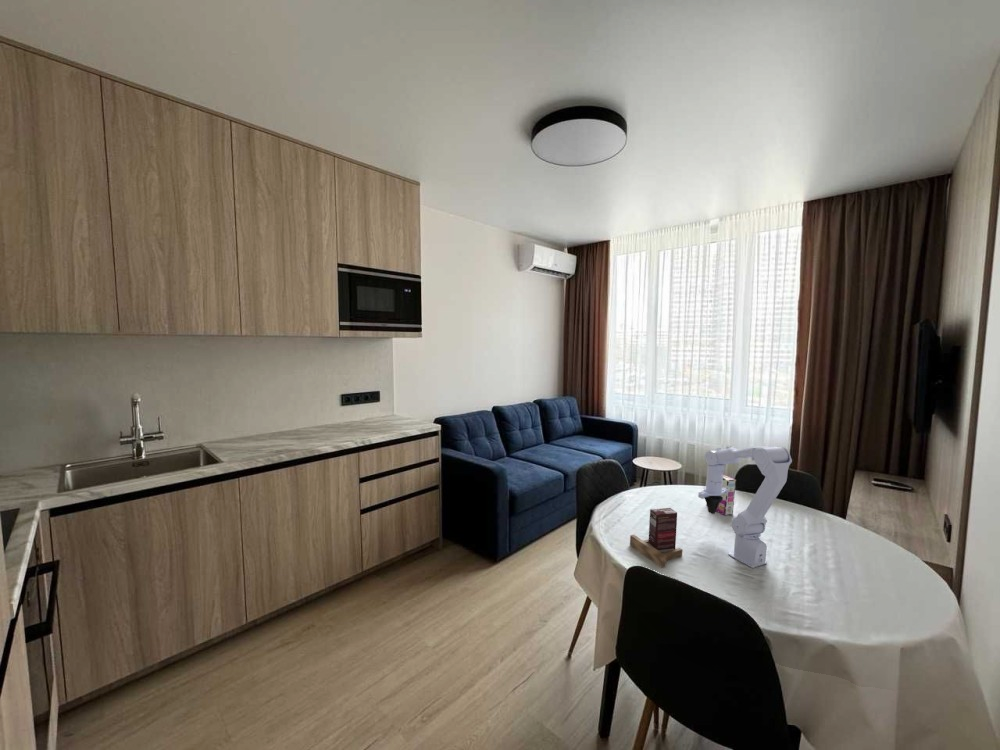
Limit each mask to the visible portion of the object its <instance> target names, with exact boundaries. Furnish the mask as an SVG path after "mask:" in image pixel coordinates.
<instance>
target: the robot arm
mask: <svg viewBox="0 0 1000 750" xmlns="http://www.w3.org/2000/svg"><path fill="white" fill-rule="evenodd" d="M747 458H749V459H751V461H754V462H755V464H756V466H757V468H758V469H759V471H760V473H761V475H763V476H764V479H763V481H762V482H761V485H760V486H759V487H758V489H757V490H756V492H755V494H754V495H753V497H752V500H750V502H749V504H748V506H747V507H746V509H745V510H743V511H741V512H739V513H738V514H737V516H735V517H733V518H731V521H730V526H731V529H732V531H733V533H734V534H735V538H734V547H733V551H732V552H731V551H730V552H728V553H727V555H728V556H730V557H731V558H733V559H735V560H737V561H739V562H740V563H742V564H744V565H745V566H748V567H749V568H752V569H753V568H756V567H759V566H763V565H765V564H767V561H766V560H767V559H766V557H767V547H768V546H767V543H765V542H764V541H763V540H761V538H760V537H761V536H762V534H763V533H764V532H765V531H766V525H767V523H768V520H767V518H766V517H765V516H766V514H767V513H768V511H769V509H770V508H771V506H772V505H773V504H774V502H775V500H776V499H777V497H778V496H779V494H780V492H781V490H782V489H783V487H784V486H785V484H786V483H787V479H788V471H789V467H790V466H791V464H792V462H793V459H792V457H791V453H790V451H789V450H788V449H787V448H786V447H785V446H781V445H779V446H778V445H776V446H771V445H770V446H769V445H768V446H766V445H765V446H762V445H761V446H759V445H758V446H751V447H745V448H741V449H737V448H735V447H732V446H729V445H728V446H726V447H725V448H717V449H716V450H708V451H706V452H705V453H704V461H705V462H706V464H707V466H706V479H705V487H703V489H702V490H701V491H700V492H698V495H697V496H698V498H700V499H701V500H705V503H706V504H707V510H708V513H710V514H712V515H714V514H716V513H717V511H716V510H717V507H718V505H719V503H720V502H721V501H722V500H723V497H722V496H720V495H722V494H724V493H725V494H728V489H726V488H724V487H723V488H722V481H723V475H724V470H725V469H726V465H730V464H737V463H740V460H741V459H747Z"/></svg>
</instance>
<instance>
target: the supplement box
mask: <svg viewBox="0 0 1000 750" xmlns="http://www.w3.org/2000/svg"><path fill="white" fill-rule="evenodd" d="M677 521H678V512H677V511H676V510H674V509H672V508H671V507H666V508H665V507H664V508H652V509H650V510H649V524H648V525H649V526H648V527H649V528H648V539H649V541H648V544H649V545H651V546H652V547H654V548H655V549H657V550H658V551H660V552H661V553H663V552H667V551H670V550H674V549H676V541H677V528H678V527H677V525H678V524H677V523H678V522H677Z"/></svg>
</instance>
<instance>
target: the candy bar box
mask: <svg viewBox="0 0 1000 750" xmlns="http://www.w3.org/2000/svg"><path fill="white" fill-rule="evenodd" d="M736 485H737V479H735V478H732V477H730V476H727V475H725V474H723V481H722V488H723V487H724V488H726V489H728V494H725V493H724V494H722V495H720V496H722V497H723V500H722V501H721V502H720V503H719V505H718V507H717V510H716V513H719V514H721V515H724V516H730V515H732V516H733V514H734V505H735V496H736V495H735V494H736ZM705 506H707V503H706V505H705Z"/></svg>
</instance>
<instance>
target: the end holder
mask: <svg viewBox="0 0 1000 750" xmlns="http://www.w3.org/2000/svg"><path fill="white" fill-rule="evenodd" d="M648 541H649V538H648V539H645V540H643V539H641V538H640V537H638V536H637V535H635V534H630V536H629V546H630V547H632V548H633V549H635V550H636V551H638V552H639V553H640V554H642V555H643V556H644V557H646V558H648V559H649V560H651V561H652V562H653V563H655V564H656V565H658V567H660V566H661V568H666V567H667V566H666V565H667V561H670V560H672V559H677V558H679V557H680V558H681V557H682V556H683V549H682V548H681V547H678V548H675V549H674V550H670V551H667V552H663V553H661V552H660V551H658V550H657V549H655V548H654V547H652V546H651V545H649V544H648Z"/></svg>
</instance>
